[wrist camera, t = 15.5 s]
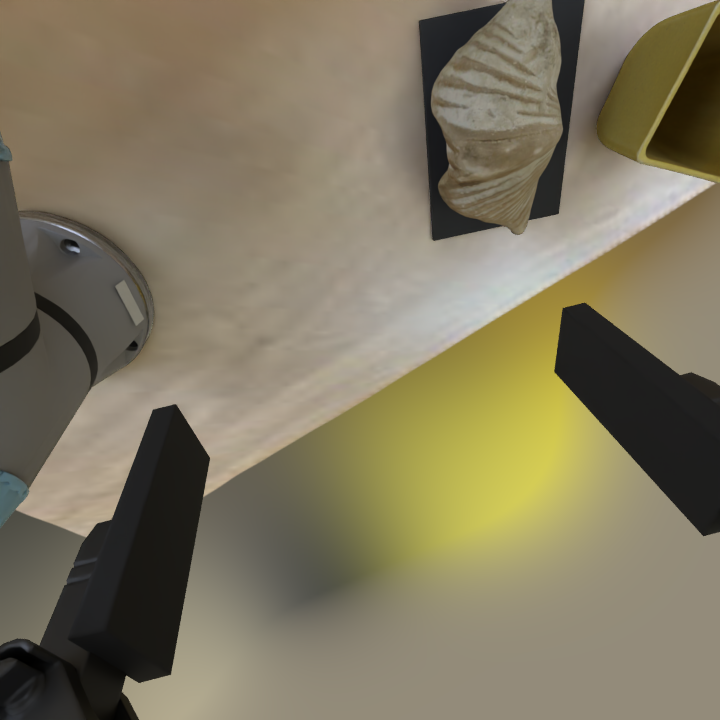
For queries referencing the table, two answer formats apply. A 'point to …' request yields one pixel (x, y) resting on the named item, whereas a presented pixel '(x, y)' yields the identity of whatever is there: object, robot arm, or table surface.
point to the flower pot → (670, 97)
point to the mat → (436, 51)
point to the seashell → (500, 114)
